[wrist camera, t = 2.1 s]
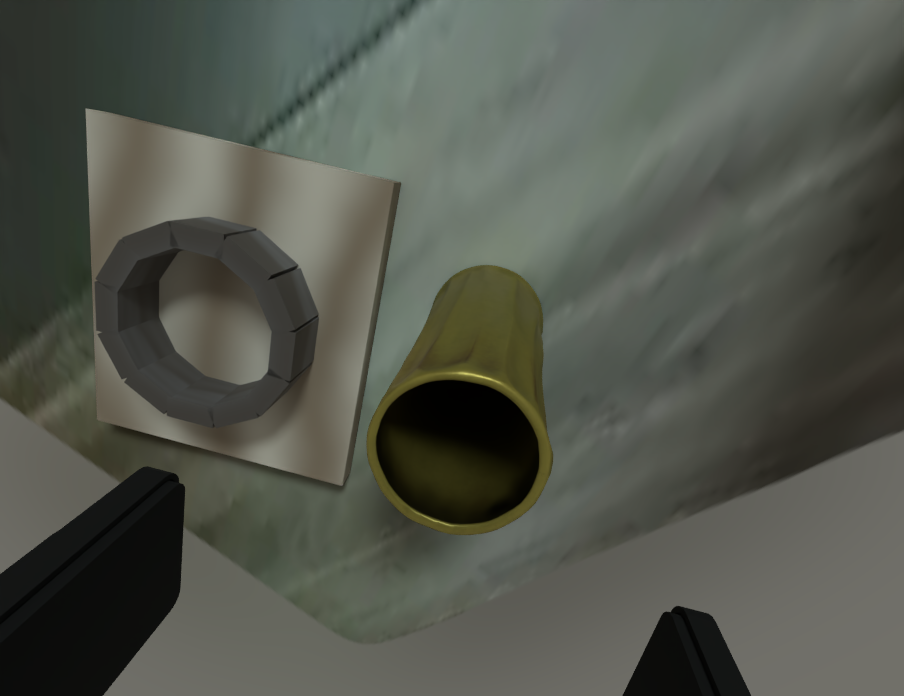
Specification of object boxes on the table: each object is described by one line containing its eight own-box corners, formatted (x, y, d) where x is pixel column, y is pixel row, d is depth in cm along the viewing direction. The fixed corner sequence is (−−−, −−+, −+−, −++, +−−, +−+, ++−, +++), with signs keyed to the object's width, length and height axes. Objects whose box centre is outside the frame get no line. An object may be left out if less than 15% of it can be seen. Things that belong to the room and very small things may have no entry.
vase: (475, 390, 28) (438, 579, 15) (409, 307, 27) (305, 430, 14) (564, 332, 26) (614, 487, 13) (498, 240, 25) (478, 306, 12)
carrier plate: (401, 182, 25) (377, 182, 21) (350, 472, 31) (323, 517, 27) (109, 112, 26) (29, 98, 21) (115, 409, 32) (54, 444, 28)
